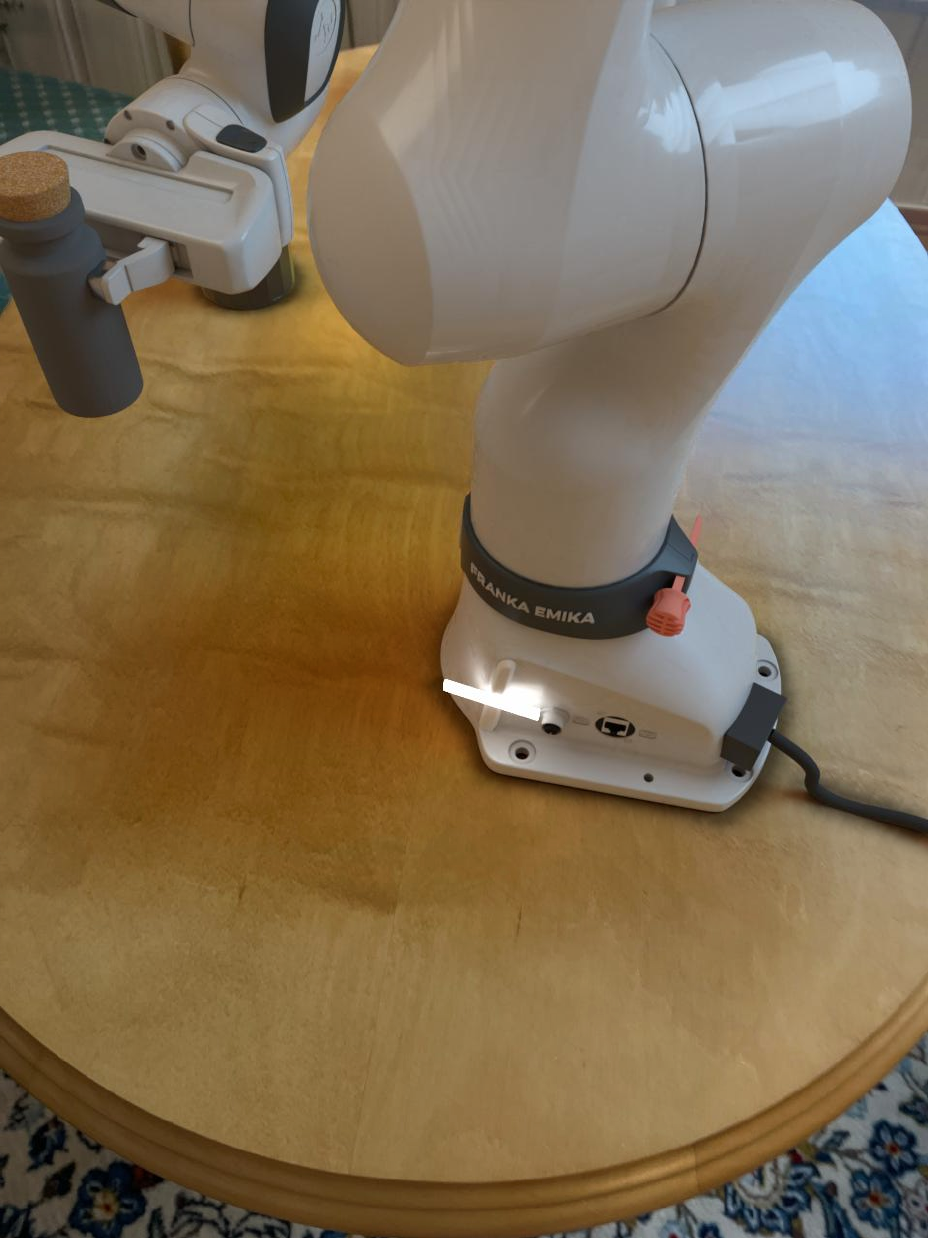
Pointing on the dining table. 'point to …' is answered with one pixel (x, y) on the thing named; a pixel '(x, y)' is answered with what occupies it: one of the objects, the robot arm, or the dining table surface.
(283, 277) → the tube
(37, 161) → the bottle
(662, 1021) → the dining table surface
